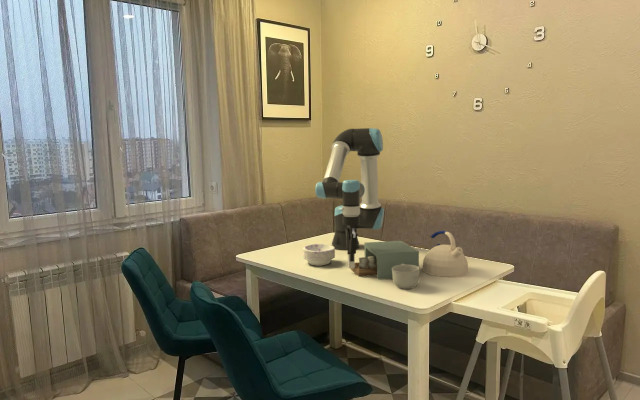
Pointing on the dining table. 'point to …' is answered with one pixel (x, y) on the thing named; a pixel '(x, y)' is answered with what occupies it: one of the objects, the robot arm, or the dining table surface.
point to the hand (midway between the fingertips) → (351, 267)
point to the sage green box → (391, 256)
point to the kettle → (445, 259)
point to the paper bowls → (319, 254)
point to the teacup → (405, 276)
